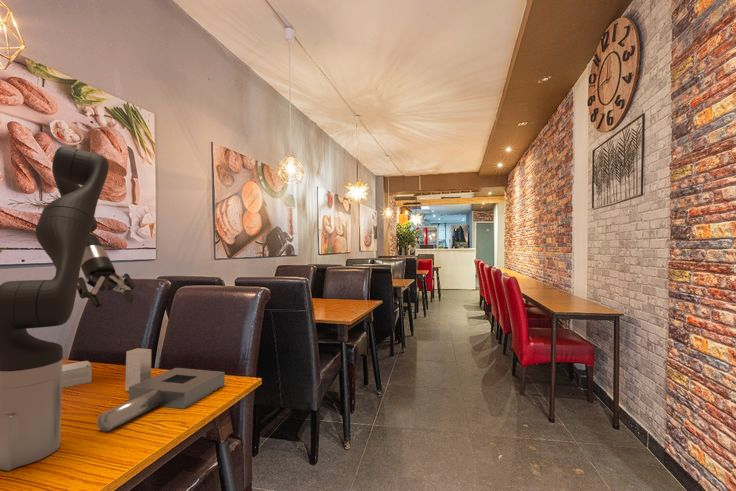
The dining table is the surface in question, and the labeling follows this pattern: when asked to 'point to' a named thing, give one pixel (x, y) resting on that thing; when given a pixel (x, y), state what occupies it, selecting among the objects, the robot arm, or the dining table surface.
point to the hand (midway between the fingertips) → (115, 304)
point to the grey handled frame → (163, 394)
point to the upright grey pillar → (137, 366)
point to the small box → (76, 373)
